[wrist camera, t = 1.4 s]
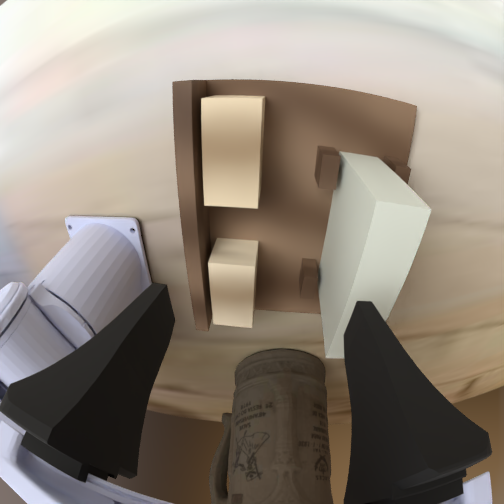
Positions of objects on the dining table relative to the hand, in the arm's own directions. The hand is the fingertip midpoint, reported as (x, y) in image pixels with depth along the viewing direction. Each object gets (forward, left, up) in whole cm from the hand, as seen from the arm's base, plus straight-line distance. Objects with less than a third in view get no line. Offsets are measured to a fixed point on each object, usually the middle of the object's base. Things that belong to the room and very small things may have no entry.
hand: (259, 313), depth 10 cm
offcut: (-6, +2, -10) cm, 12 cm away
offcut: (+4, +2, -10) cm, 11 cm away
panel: (-1, -5, -10) cm, 11 cm away
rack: (-1, -2, -11) cm, 11 cm away
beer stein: (-23, -2, -11) cm, 25 cm away
